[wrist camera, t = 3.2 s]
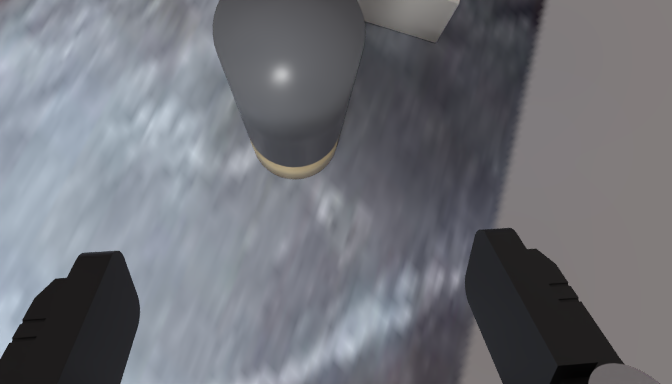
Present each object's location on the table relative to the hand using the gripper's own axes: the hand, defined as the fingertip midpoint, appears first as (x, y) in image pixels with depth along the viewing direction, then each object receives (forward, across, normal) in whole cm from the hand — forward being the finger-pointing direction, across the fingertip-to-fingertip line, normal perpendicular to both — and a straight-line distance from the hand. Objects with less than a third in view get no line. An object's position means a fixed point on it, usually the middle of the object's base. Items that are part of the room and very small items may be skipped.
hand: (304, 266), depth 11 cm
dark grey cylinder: (+12, 0, +3) cm, 12 cm away
